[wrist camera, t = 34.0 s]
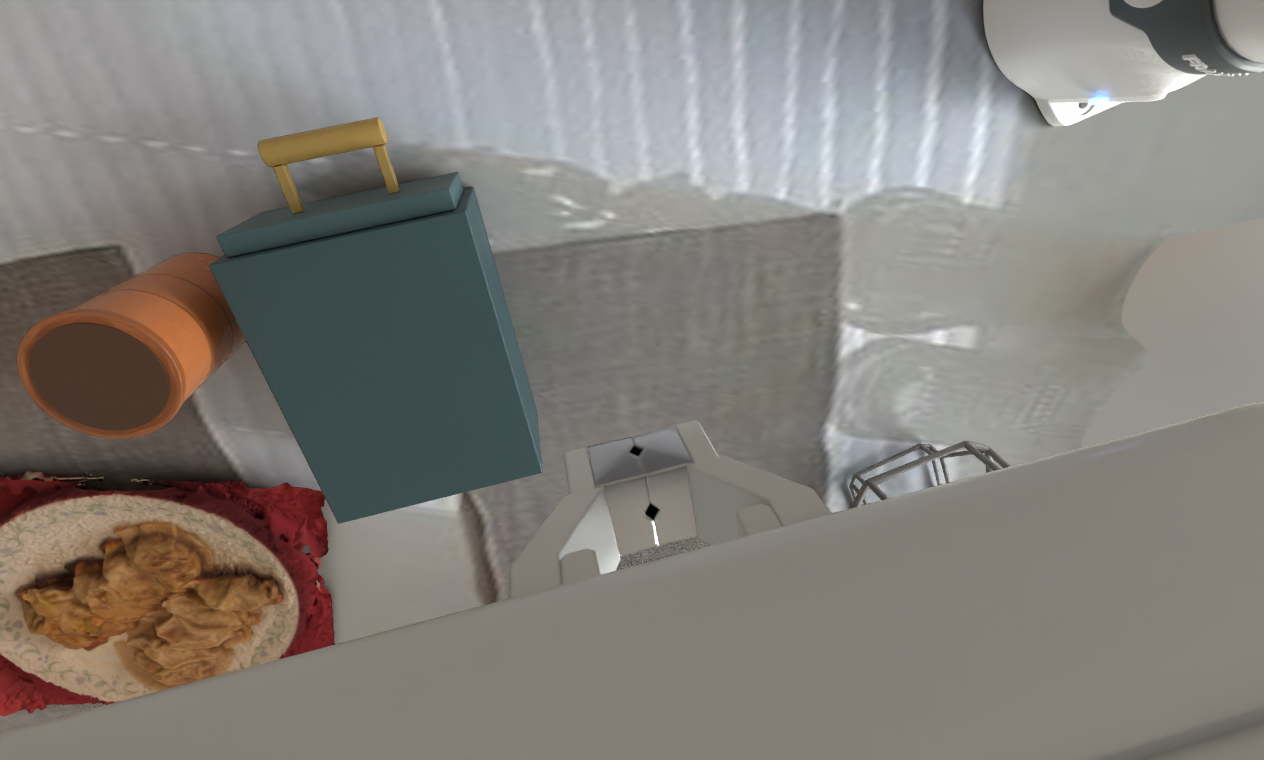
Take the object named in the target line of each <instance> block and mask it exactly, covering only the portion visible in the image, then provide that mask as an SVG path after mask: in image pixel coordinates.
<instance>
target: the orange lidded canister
mask: <svg viewBox="0 0 1264 760" xmlns="http://www.w3.org/2000/svg"><path fill="white" fill-rule="evenodd" d="M218 259H219V258H218V257H215V256H212V255H208V254H202V253H185V254H180V255H176V256H173V257H171V258H169V259H167V260H165V261H163V262H161V263H159V264H157V265H155V266H153V267H151V268H149V269H148V270H146V271H144V272H142V273H140V274H138V275H136V276H134V277H132V278H130V279H128V280H126V281H124V282H123V283H121V284H119V285H117V286H115V287H113V288H111V289H109V290H107V291H105V292H103V293H101V294H99V295H97V296H95V297H93V298H92V299H90V300H88V301H86V302H84V303H82V304H80V305H78V306H76V307H75V308H73V309H71V310H68V311H63V312H60V313H57V314H54V315H52V316H50V317H48V318H46V319H44V320H42V321H40V322H39V323H37V324H36V325H34V326H33V327H32V328H31V329H30V330H29V331H28V332H27V333H26V335H25V336H24V337H23V339H22V341H21V343H20V346H19V349H18V353H17V367H18V372H19V376H20V379H21V381H22V384H23V386H24V388H25V389H26V391H27V392H28V394H29V395H30V397H31V398H32V399H33V400H34V402H35V403H36V404H37V405H38V406H39V407H40V408H41V409H42V410H44V411H45V412H46V413H47V414H49V415H50V416H51V417H53V418H54V419H56V420H57V421H59V422H60V423H62V424H64V425H66V426H68V427H70V428H72V429H75V430H77V431H80V432H83V433H86V434H89V435H94V436H98V437H105V438H132V437H138V436H142V435H145V434H149V433H151V432H153V431H155V430H157V429H159V428H161V427H162V426H164V425H165V424H166V423H167V422H169V421H170V420H171V419H172V418H173V417H174V416H175V414H176V413H177V412H178V411H179V409H180V407H181V406H182V403H183V402H184V401H185V400H186V399H187V398H188V397H189V396H190V395H191V394H192V393H193V392H194V391H196V390H197V389H198V388H199V387H200V386H201V385H202V384H203V383H204V382H205V381H206V380H207V379H208V378H209V377H210V376H211V375H212V374H213V373H214V372H215V371H216V370H217V369H218V368H219V367H220V366H221V365H222V364H223V363H224V362H225V361H226V360H227V359H228V358H229V357H230V356H231V355H232V354H233V353H234V352H235V351H236V350H237V349H238V348H239V347H240V346H241V345H242V344H243V343H244V342H245V341H246V339H245V337H244V335H243V333H242V331H241V329H240V327H239V325H238V323H237V321H236V319H235V317H234V315H233V313H232V311H231V309H230V307H229V305H228V303H227V301H226V299H225V297H224V295H223V293H222V291H221V289H220V287H219V285H218V283H217V281H216V279H215V277H214V275H213V273H212V271H211V270H210V268H209V265H210V264H211V263H213V262H215V261H216V260H218Z"/></svg>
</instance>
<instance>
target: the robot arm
mask: <svg viewBox="0 0 1264 760" xmlns="http://www.w3.org/2000/svg"><path fill="white" fill-rule="evenodd" d="M983 17H984V28H985V34H986V39H987V42H988V46H989V49H990V52H991V54H992V56H993V58H994V61H995V62H996V64H997V66H998V67H999V69H1000V70H1001V72H1002V73H1003V74H1004V75H1005V76H1006V77H1007V78H1008V79H1009V80H1010V81H1011V82H1012V83H1013V84H1015V85H1016V86H1018V87H1019V88H1021V89H1023V90H1024V91H1026V92H1027V93H1029V94H1030V95H1031V96H1032V97H1033V98H1034V99H1035V100H1036V102H1037V105H1038V107H1039V109H1040V111H1041V113H1042V115H1043V116H1044V118H1045V119H1046V121H1047V122H1048V123H1049V124H1050V125H1052V126H1068V125H1071V124H1074V123H1076V122H1078V121H1081V120H1083V119H1085V118H1088V117H1090V116H1092V115H1095V114H1097V113H1099V112H1101V111H1104V110H1106V109H1108V108H1111V107H1113V106H1115V105H1118V104H1120V103H1122V102H1142V101H1156V100H1160V99H1163V98H1164V97H1165V96H1166V94H1167V93H1168V92H1171V91H1174V90H1177V89H1179V88H1182V87H1184V86H1186V85H1188V84H1190V83H1192V82H1194V81H1196V80H1198V79H1199V78H1201V77H1203V76H1205V75H1208V74H1209V75H1215V76H1241V75H1248V74H1249V73H1259V72H1264V0H984V2H983ZM1078 103H1080V105H1079V106H1078ZM587 448H588V451H587ZM587 448H586V447H583V448H579V449H575V450H571V451H567V452H564V462H565V468H566V475H567V482H568V488H569V495H566V496H563V497H562V499H561V500H560V501H559V503H558V504H557V505H556V507H555V508H554V509H553V511H552V512H551V513H550V514H549V516H548V517H547V518H546V520H545V521H544V522H543V524H542V525H541V526H540V528H539V529H538V530H537V532H536V533H535V534H534V536H533V537H532V538H531V540H530V541H529V542H528V543H527V545H526V546H525V547H524V549H523V550H522V551H521V553H520V554H519V555H518V557H517V558H516V559H515V561H514V562H513V563H512V565H511V566H510V599H506V600H502V601H499V602H495V603H491V604H487V605H484V606H480V607H476V608H472V609H468V610H465V611H461V612H457V613H453V614H449V615H446V616H442V617H438V618H434V619H430V620H427V621H423V622H419V623H415V624H411V625H408V626H404V627H400V628H396V629H393V630H389V631H385V632H381V633H377V634H374V635H370V636H366V637H362V638H358V639H355V640H351V641H347V642H343V643H339V644H336V645H332V646H328V647H324V648H320V649H317V650H313V651H309V652H305V653H302V654H298V655H294V656H290V657H286V658H283V659H279V660H275V661H271V662H267V663H264V664H260V665H256V666H252V667H248V668H245V669H241V670H237V671H233V672H229V673H226V674H222V675H218V676H214V677H210V678H207V679H203V680H199V681H195V682H191V683H188V684H184V685H180V686H176V687H172V688H169V689H165V690H161V691H157V692H153V693H150V694H146V695H142V696H138V697H135V698H131V699H127V700H123V701H119V702H116V703H112V704H108V705H104V706H100V707H97V708H93V709H89V710H85V711H81V712H78V713H74V714H70V715H66V716H62V717H59V718H55V719H51V720H46V721H42V722H38V723H34V724H30V725H26V726H22V727H17V728H13V729H9V730H5V731H2V732H0V760H1264V402H1256V403H1251V404H1246V405H1241V406H1237V407H1233V408H1229V409H1226V410H1223V411H1219V412H1215V413H1211V414H1207V415H1204V416H1200V417H1196V418H1192V419H1189V420H1185V421H1181V422H1178V423H1173V424H1170V425H1166V426H1162V427H1158V428H1155V429H1151V430H1147V431H1143V432H1140V433H1136V434H1132V435H1128V436H1125V437H1121V438H1117V439H1113V440H1109V441H1106V442H1101V443H1098V444H1094V445H1090V446H1087V447H1082V448H1079V449H1075V450H1071V451H1067V452H1064V453H1060V454H1056V455H1052V456H1048V457H1045V458H1041V459H1037V460H1033V461H1029V462H1026V463H1022V464H1018V465H1014V466H1010V467H1007V468H1003V469H999V470H995V471H991V472H988V473H984V474H980V475H976V476H972V477H969V478H965V479H961V480H957V481H953V482H950V483H946V484H942V485H938V486H934V487H931V488H927V489H923V490H919V491H915V492H912V493H908V494H904V495H900V496H896V497H893V498H889V499H885V500H881V501H878V502H874V503H870V504H866V505H862V506H859V507H855V508H851V509H847V510H843V511H840V512H836V513H832V514H831V512H830V511H829V510H828V508H827V507H826V506H825V504H824V503H823V502H822V500H821V499H820V498H819V496H818V495H817V494H816V492H815V491H814V490H813V489H812V488H809V487H807V486H804V485H801V484H799V483H796V482H793V481H791V480H788V479H785V478H783V477H780V476H778V475H775V474H772V473H770V472H767V471H764V470H762V469H759V468H756V467H754V466H751V465H748V464H746V463H743V462H741V461H738V460H735V459H733V458H730V457H727V456H721V457H719V456H718V454H717V453H716V451H715V449H714V448H713V446H712V444H711V442H710V441H709V439H708V437H707V435H706V434H705V432H704V430H703V428H702V427H701V425H700V423H699V421H697V420H692V421H689V422H685V423H682V424H678V425H675V426H671V427H668V428H664V429H660V430H657V431H653V432H649V433H646V434H642V435H638V436H635V437H628V438H624V439H619V440H615V441H610V442H606V443H601V444H597V445H592V446H588V447H587ZM588 453H589V454H588ZM695 537H698V539H700V540H701V541H703V542H704V543H706V544H707V545H709V546H707V547H703V548H700V549H696V550H692V551H688V552H684V553H681V554H677V555H673V556H669V557H665V558H662V559H658V560H654V561H650V562H646V563H643V564H639V565H635V566H631V567H628V568H624V569H620V570H616V568H617V566H618V564H619V561H620V557H622V556H626V555H629V554H633V553H636V552H639V551H643V550H646V549H650V548H653V547H657V546H661V545H665V544H669V543H673V542H678V541H682V540H686V539H690V538H695Z"/></svg>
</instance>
